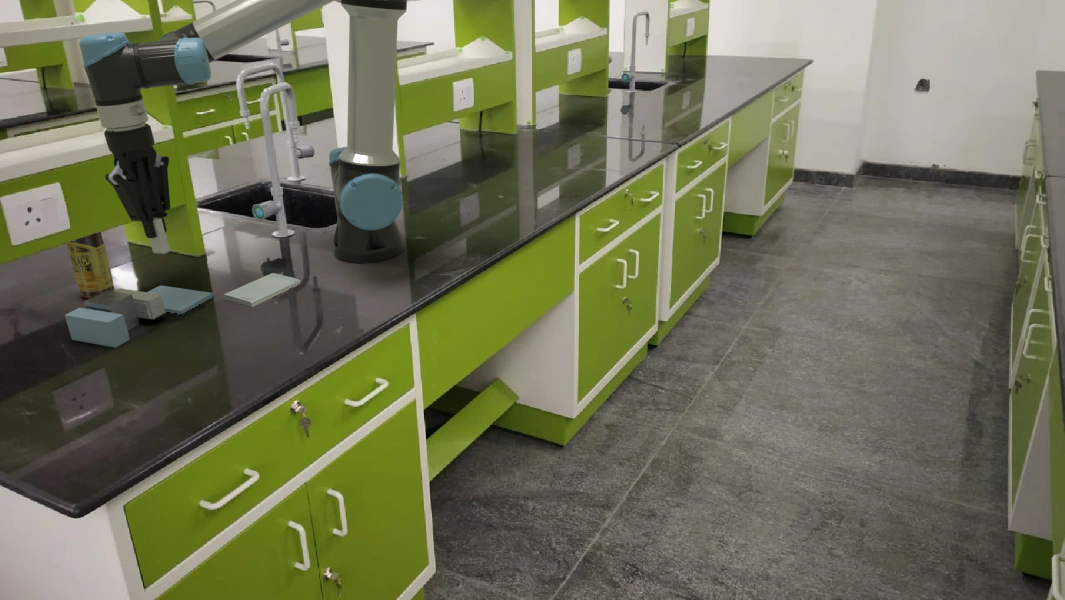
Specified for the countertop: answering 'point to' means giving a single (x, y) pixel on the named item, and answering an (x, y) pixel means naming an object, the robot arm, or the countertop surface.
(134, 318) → the steel block
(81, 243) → the sauce bottle
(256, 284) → the hard drive
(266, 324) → the countertop surface
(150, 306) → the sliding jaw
